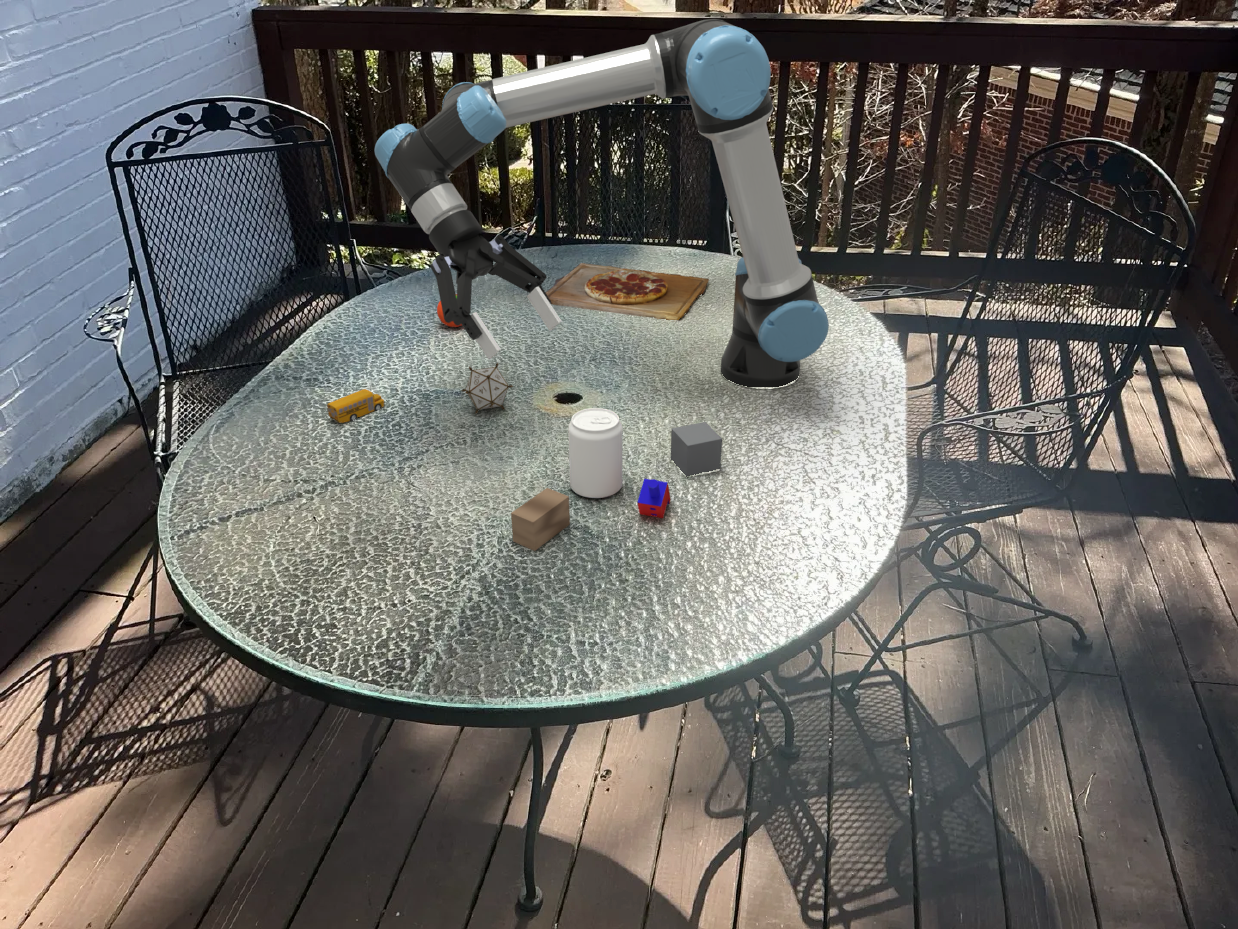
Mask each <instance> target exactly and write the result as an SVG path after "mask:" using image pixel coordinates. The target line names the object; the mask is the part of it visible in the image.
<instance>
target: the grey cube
mask: <svg viewBox="0 0 1238 929" xmlns="http://www.w3.org/2000/svg"><path fill="white" fill-rule="evenodd" d="M670 431H671V433H670V458H671V460H673V461H674V463H675V464H676V466H678V467H679V468H680V470H681V471H682V472H683V473H684V474H685V475H686V477H687V476H690V475H694V474H695V475H696V474H699V473H702V472H709V471H713V470H716V469H720V470H721V466H722V465H721V464H722V450H723V448H722V447H723V437H721V436H720V435H719V434H718V433H717V432H716V431H715V430H714V429H713V428H712V427H711V426H710V424H708V422H706V421H701V422H697V423H692V424H688V425H686V424H685V425H682V426H681V425H680V426H677V427H672V428H671V430H670ZM671 460H670V461H671ZM676 466H675V467H676ZM686 477H685V478H686Z"/></svg>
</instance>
